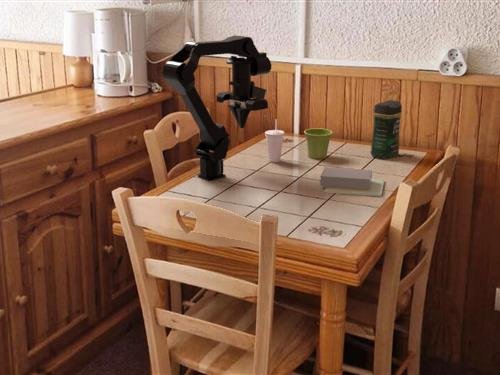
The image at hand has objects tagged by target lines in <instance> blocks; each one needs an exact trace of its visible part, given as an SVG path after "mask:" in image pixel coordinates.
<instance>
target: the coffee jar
mask: <svg viewBox="0 0 500 375" xmlns="http://www.w3.org/2000/svg"><path fill="white" fill-rule="evenodd" d="M402 107H403V106H402V104H401V102H400V101H398V100H393V99H388V100H386V101H382V102H377V103H376V104H375V105H374V108H373V132H372V141H371V150H370V155H371V156H372V157H374V158H377V159H387V160H388V159H391V158H393V157H396V156H398V155H399V152H400V126H401V123H400V122H401V117H402Z"/></svg>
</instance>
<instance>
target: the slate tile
mask: <svg viewBox="0 0 500 375" xmlns="http://www.w3.org/2000/svg"><path fill="white" fill-rule="evenodd" d="M372 179H373V169H360V168H344V167H341V168H340V167H330V166H329V167H328V166H324V167H323V169H322V172H321V173H320V179H319V184H320V185H319V186H320V187H321V188H326V187H327V188H341V189H355V190H368V189H370V185H371V181H372Z"/></svg>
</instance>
